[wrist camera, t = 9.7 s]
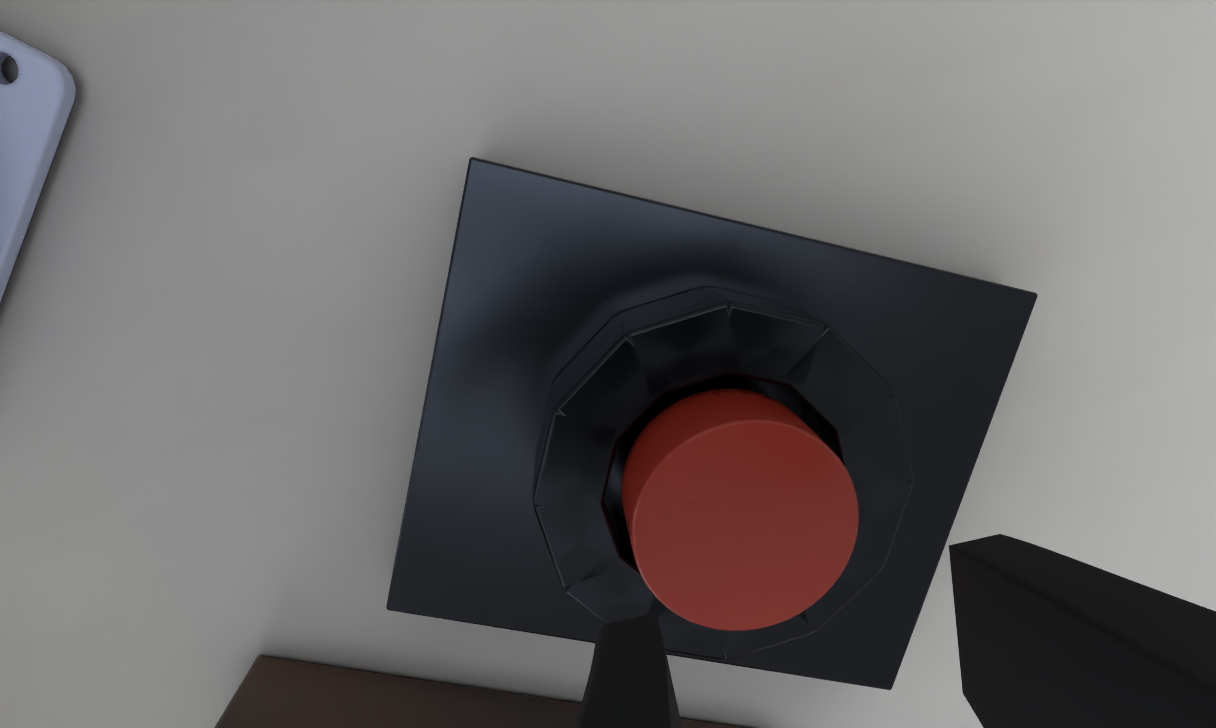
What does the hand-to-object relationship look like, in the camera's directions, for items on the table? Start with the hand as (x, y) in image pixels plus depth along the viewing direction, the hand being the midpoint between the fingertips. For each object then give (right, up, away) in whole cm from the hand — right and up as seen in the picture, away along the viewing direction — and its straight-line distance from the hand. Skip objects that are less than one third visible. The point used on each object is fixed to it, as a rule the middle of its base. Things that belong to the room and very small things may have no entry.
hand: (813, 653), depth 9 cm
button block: (-1, +2, +7) cm, 7 cm away
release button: (0, +1, +5) cm, 5 cm away
